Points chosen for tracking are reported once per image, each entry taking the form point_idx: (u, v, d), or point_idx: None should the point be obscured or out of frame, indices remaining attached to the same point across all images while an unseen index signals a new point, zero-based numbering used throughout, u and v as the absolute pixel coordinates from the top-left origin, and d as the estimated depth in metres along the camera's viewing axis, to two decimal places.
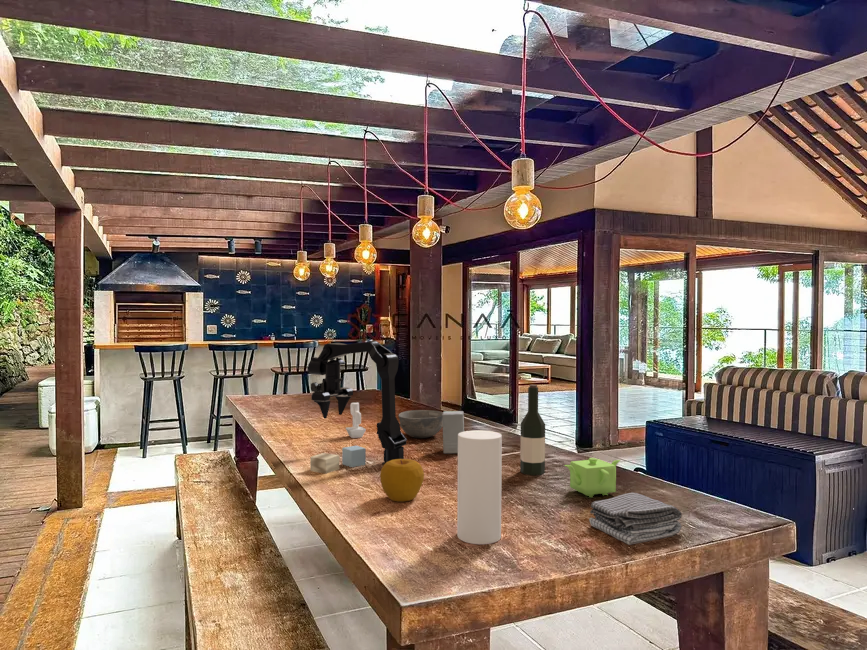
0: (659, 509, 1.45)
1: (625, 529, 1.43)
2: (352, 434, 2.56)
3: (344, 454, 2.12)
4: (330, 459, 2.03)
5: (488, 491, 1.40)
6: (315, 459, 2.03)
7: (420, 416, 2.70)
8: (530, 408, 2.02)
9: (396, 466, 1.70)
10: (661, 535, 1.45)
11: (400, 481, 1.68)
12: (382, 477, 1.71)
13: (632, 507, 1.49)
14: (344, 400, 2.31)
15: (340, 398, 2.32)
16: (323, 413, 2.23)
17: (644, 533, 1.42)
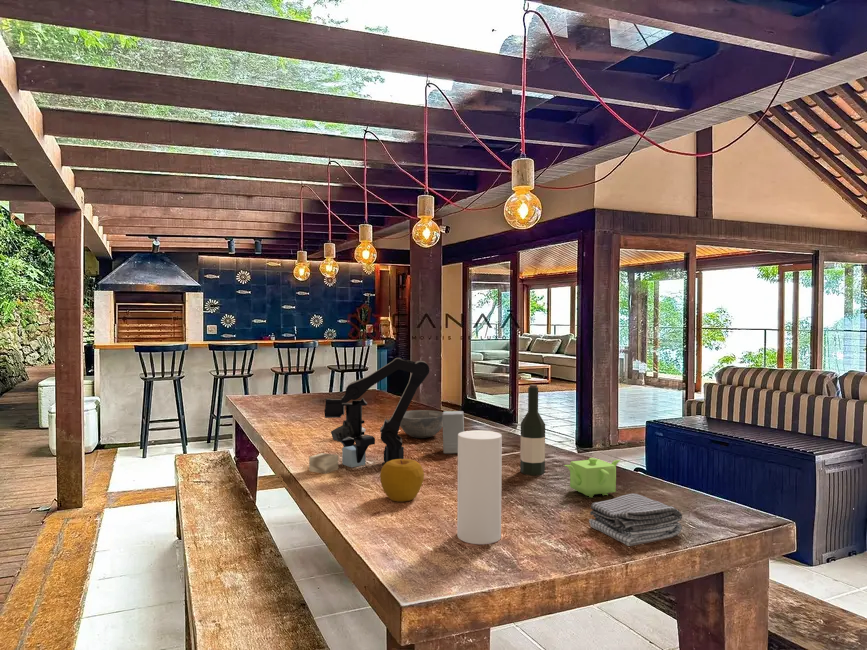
0: (659, 510, 1.44)
1: (625, 530, 1.42)
2: None
3: (344, 454, 2.12)
4: (329, 459, 2.02)
5: (488, 491, 1.40)
6: (314, 459, 2.03)
7: (420, 416, 2.70)
8: (530, 408, 2.02)
9: (396, 466, 1.70)
10: (661, 536, 1.44)
11: (400, 481, 1.68)
12: (382, 477, 1.71)
13: (632, 508, 1.48)
14: (352, 442, 2.17)
15: (347, 441, 2.15)
16: (359, 457, 2.10)
17: (644, 534, 1.42)
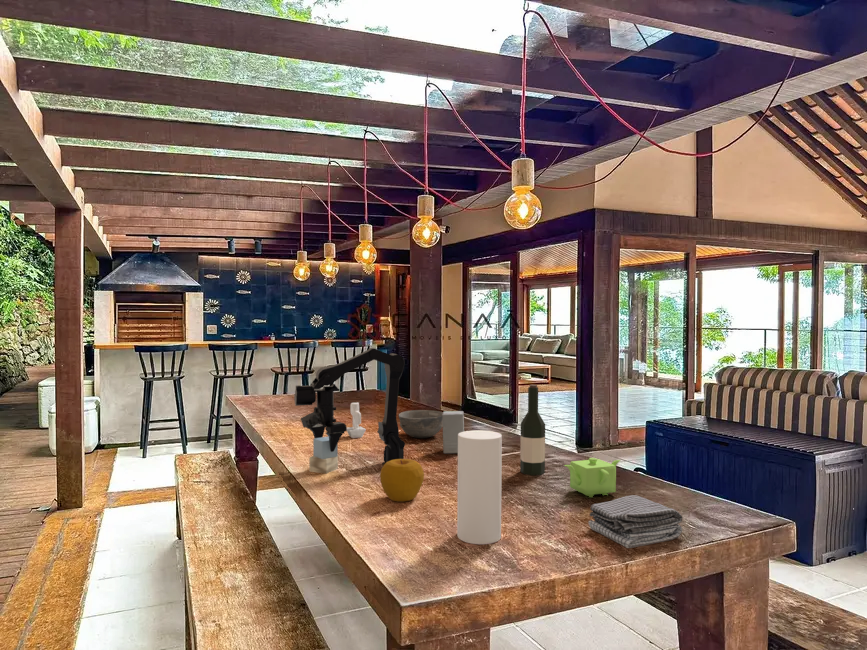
0: (659, 512, 1.43)
1: (624, 532, 1.41)
2: (352, 434, 2.56)
3: (315, 445, 2.04)
4: (330, 459, 2.03)
5: (488, 491, 1.40)
6: (314, 459, 2.02)
7: (420, 416, 2.70)
8: (530, 408, 2.02)
9: (396, 466, 1.70)
10: (661, 539, 1.43)
11: (400, 481, 1.68)
12: (382, 477, 1.71)
13: (632, 510, 1.47)
14: (322, 429, 2.10)
15: (317, 429, 2.09)
16: (332, 446, 2.01)
17: (643, 536, 1.40)
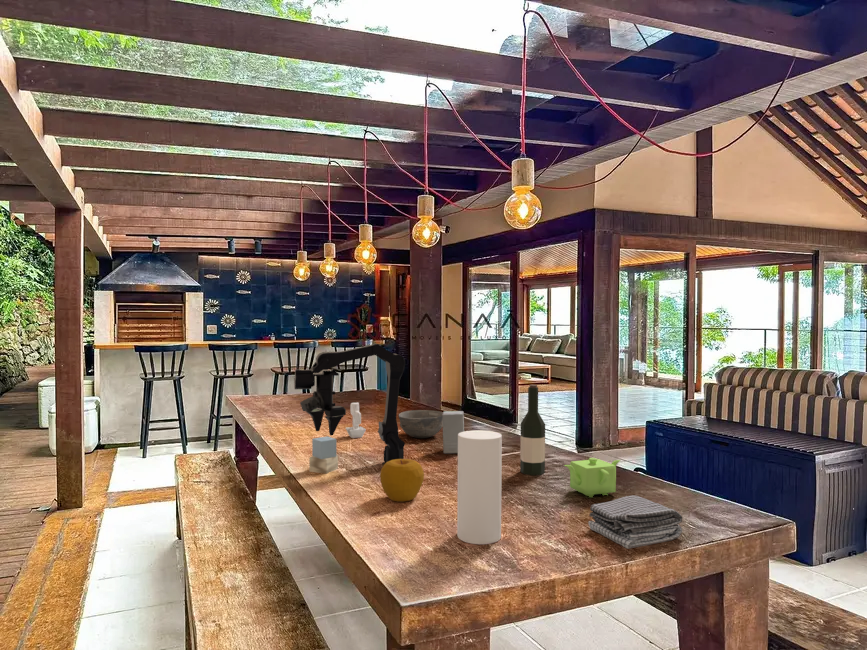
0: (658, 513, 1.42)
1: (624, 533, 1.41)
2: (352, 434, 2.56)
3: (314, 445, 2.04)
4: (330, 459, 2.03)
5: (488, 491, 1.40)
6: (315, 459, 2.02)
7: (420, 416, 2.70)
8: (530, 408, 2.02)
9: (396, 466, 1.70)
10: (661, 539, 1.43)
11: (400, 481, 1.68)
12: (382, 477, 1.71)
13: (632, 510, 1.46)
14: (321, 414, 2.11)
15: (316, 413, 2.10)
16: (332, 430, 2.02)
17: (643, 537, 1.40)
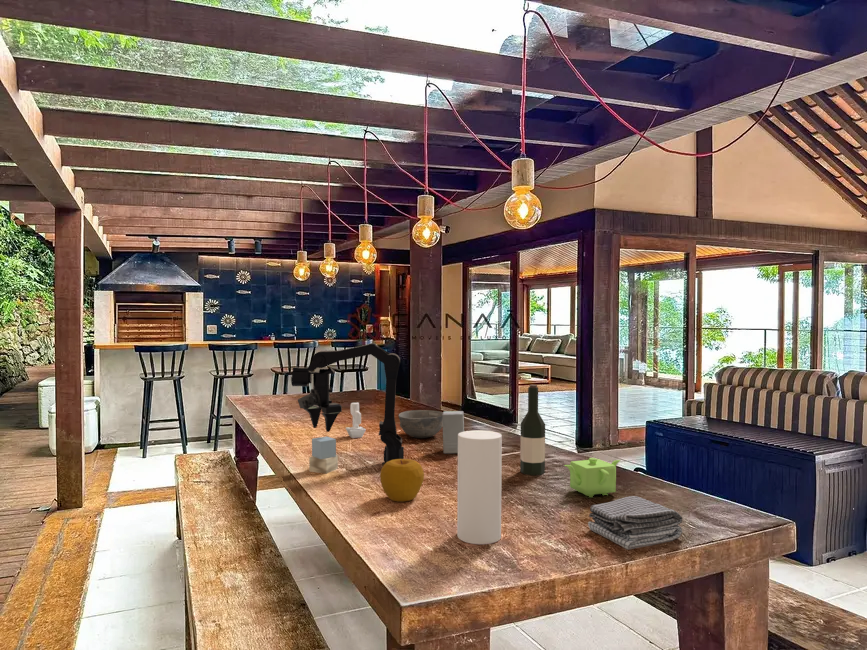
0: (658, 513, 1.42)
1: (624, 533, 1.40)
2: (352, 434, 2.56)
3: (314, 445, 2.04)
4: (330, 459, 2.03)
5: (488, 491, 1.40)
6: (314, 459, 2.02)
7: (420, 416, 2.70)
8: (530, 408, 2.02)
9: (396, 466, 1.70)
10: (661, 540, 1.42)
11: (400, 481, 1.68)
12: (382, 477, 1.71)
13: (631, 511, 1.46)
14: (318, 411, 2.17)
15: (313, 410, 2.16)
16: (328, 426, 2.08)
17: (643, 538, 1.40)
